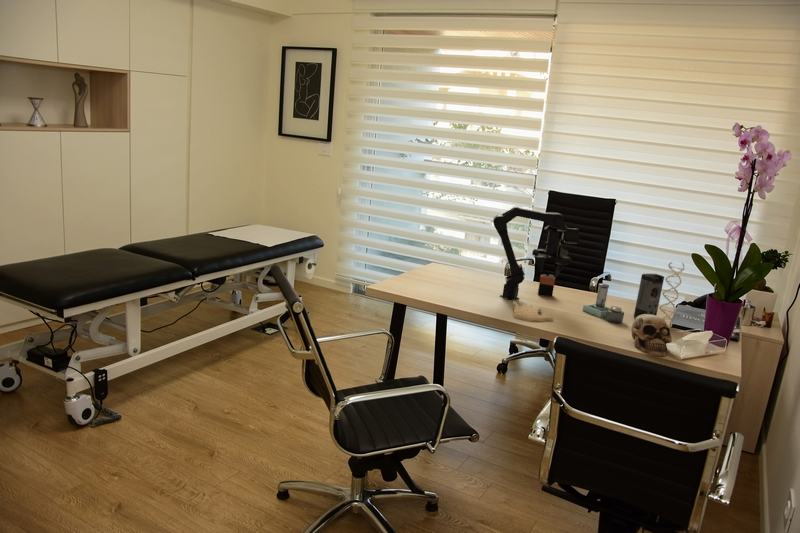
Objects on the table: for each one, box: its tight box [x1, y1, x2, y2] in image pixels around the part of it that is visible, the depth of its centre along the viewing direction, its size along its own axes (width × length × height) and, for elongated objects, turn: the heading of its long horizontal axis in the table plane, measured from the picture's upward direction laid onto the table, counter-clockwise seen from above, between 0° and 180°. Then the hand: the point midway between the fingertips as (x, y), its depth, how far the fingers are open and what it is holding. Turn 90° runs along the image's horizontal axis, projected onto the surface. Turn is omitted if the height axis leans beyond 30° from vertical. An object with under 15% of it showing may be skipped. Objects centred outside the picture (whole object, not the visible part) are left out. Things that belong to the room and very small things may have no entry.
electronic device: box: [633, 273, 665, 319], centre depth 270 cm, size 9×6×20 cm, turn 117°
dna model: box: [659, 261, 685, 329], centre depth 250 cm, size 7×6×30 cm
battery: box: [537, 273, 556, 298], centre depth 295 cm, size 4×7×10 cm, turn 75°
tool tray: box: [582, 303, 611, 318], centre depth 273 cm, size 10×10×3 cm
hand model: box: [512, 300, 554, 323], centre depth 259 cm, size 19×5×20 cm
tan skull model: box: [630, 314, 673, 358], centre depth 232 cm, size 16×17×13 cm
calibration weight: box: [604, 305, 625, 325], centre depth 262 cm, size 7×7×6 cm
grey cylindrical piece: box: [593, 282, 610, 311], centre depth 272 cm, size 5×5×12 cm
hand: (548, 274), depth 279 cm, fingers open, 9 cm apart
